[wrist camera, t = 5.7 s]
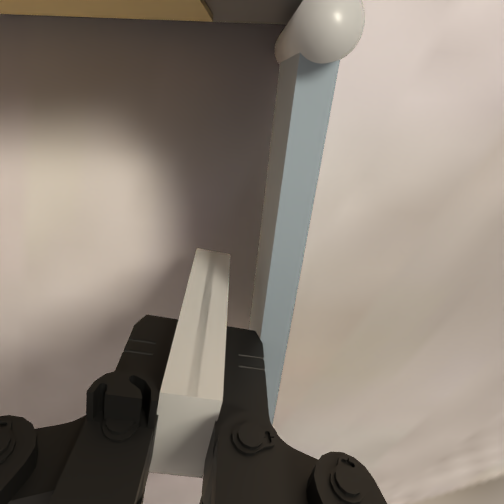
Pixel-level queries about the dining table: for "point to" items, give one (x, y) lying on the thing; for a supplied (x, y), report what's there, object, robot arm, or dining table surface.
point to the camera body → (161, 9)
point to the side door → (296, 164)
